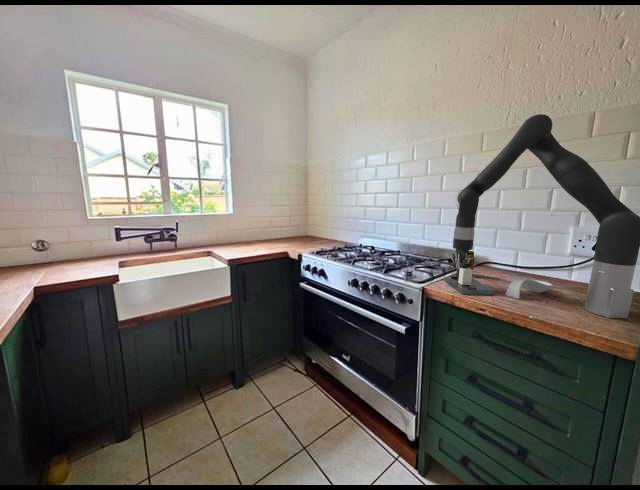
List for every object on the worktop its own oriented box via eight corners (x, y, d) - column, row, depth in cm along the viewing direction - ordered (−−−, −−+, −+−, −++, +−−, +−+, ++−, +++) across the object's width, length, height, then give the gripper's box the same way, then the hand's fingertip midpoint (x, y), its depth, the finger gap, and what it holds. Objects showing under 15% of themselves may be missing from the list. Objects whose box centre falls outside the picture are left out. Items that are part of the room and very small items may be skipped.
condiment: (458, 276, 130) (461, 252, 127) (456, 272, 137) (458, 248, 135) (475, 278, 127) (478, 253, 125) (472, 273, 135) (475, 250, 133)
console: (492, 295, 105) (493, 288, 104) (461, 294, 105) (462, 287, 105) (471, 282, 121) (472, 276, 120) (444, 281, 121) (445, 275, 121)
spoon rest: (522, 284, 120) (525, 268, 119) (556, 292, 110) (559, 275, 109) (495, 293, 107) (498, 276, 106) (530, 303, 98) (533, 284, 96)
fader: (471, 285, 109) (472, 270, 108) (462, 284, 110) (463, 269, 108) (466, 282, 113) (468, 267, 112) (458, 282, 113) (459, 267, 112)
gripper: (481, 240, 106) (476, 282, 109) (465, 235, 119) (461, 273, 122) (462, 240, 107) (457, 282, 110) (447, 235, 120) (444, 273, 123)
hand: (459, 277), depth 116 cm, fingers closed
